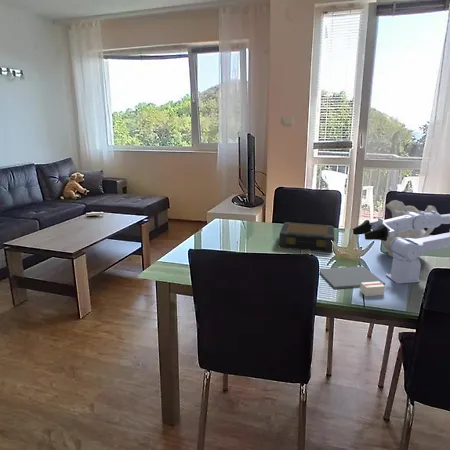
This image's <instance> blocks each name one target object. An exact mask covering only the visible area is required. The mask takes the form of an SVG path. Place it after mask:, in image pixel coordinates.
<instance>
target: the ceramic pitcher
mask: <svg viewBox="0 0 450 450" xmlns="http://www.w3.org/2000/svg"><path fill="white" fill-rule="evenodd" d="M385 206H386V208H387V209H389V211H390V212H391V216H392V217H391V218H395V217H399V216H403V215H404V214H405V213H406V212H408V211H409V212H415V213H420V212H424V213H427V212H430V211H436V212H437V213H438V210H437V208H436V206H435V205H426V208H425V210H424V211H423V210H419V209H418V208H417V207H415V206H414V205H405V204H404V202H403V201H399V200H397V199H395V200H390V202H388V203H387V204H386V205H385ZM435 228H436V227H432V228H426V230H425V228H424V229H423V230H421V231H419V230H415V229H411V230H407V231H403V232H399V233H395V236H393V237H389V236H388V237H387V241H383V240H380V242H381V244H382V246H383V247H384V249H386V250H387V254H388V256H389V257H390V258H393V251H392V250H391V248H390V245H391V242H392V241H393V240H394V239H395V238H397V237H401V238H413V239H418V238H423V237H428V236H430V234H431V233H432V232H433V231H434V230H435Z"/></svg>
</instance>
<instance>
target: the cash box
mask: <svg viewBox="0 0 450 450" xmlns="http://www.w3.org/2000/svg"><path fill="white" fill-rule="evenodd" d="M278 239H279V242H278V247H279V246H280V247H279V248H281V247H282V249H289V248H291V249H290V250H301V251H314V252H324V253H332V252H334V250H333V251H332V242H331V240H332V241H333V242H334V243H335V227H334V226H333V225H329V224H318V223H317V224H316V223H302V222H301V223H300V222H289V221H287V222H286V221H285V222H283V224H282V227H281V229H280V232H279V238H278Z"/></svg>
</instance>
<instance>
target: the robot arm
mask: <svg viewBox="0 0 450 450" xmlns="http://www.w3.org/2000/svg"><path fill="white" fill-rule="evenodd" d="M442 224H443V225H450V213H447V214H446V213H445V214H440V213H439V212H438V211H437V212H436V211H430V212H427V213H424V212H420V213H415V212H409V211H408V212H406V213H405V214H404V215H403V216H399V217H395V218H392V217H391V218H388V219H383V218H382V217H378V218H377V220H376V221H370V220H369V219H366V220H364V221H363V222H362V223H360V225H358V226H355V227H354V228H352V234H353V235H356V236H357V235H364V240H366V241H367V240H369V241H371V240H373V241H376V240H377V241H381V240H383V241H387V237H388V236H389V237H393V236H395V233H399V232H403V231H407V230H411V229H415V230H419V231H421V230H423V229H424V230H425V229H428V228H432V227H435V228H438V227H440V226H441V225H442ZM449 247H450V229H449V232H445V233H439V234H435V235H429V236H428V237H423V238H418V239H413V238H401V237H397V238H395V239H394V240H393V241H392V242H391V245H390V248H391V250H392V251H393V257H392V263H391V270H390V273H386V274H385V276H386V277H388V279H390V280H391V281H393V282H394V283H396V284H409V283H420V280H419V278H420V272H421V266H422V265H421V261H420V259H419V258H420V257H423V255H424V253H425V252H431V251H434V250H439V249H445V248H449Z"/></svg>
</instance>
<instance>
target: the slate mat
mask: <svg viewBox="0 0 450 450" xmlns="http://www.w3.org/2000/svg"><path fill="white" fill-rule="evenodd" d="M319 269H320V273H319V274H320V276H321V277H322V278H323V279H325V281H326V282H327V283H328V284H329V285H330V286H331V287H332V288H333V289H334V290H336V289H351V288H360V287H361V283H362V282H376V281H379V282H381V283H382V284H383V285H384V286H386V285H385V284H386V283H385V282H384V281H383V280H382V279H380V277H378V276H376V275H375V274H374V273H373V272H372V271H370V270H369V269H368V268H366V267H365V266H364V265H363V266H362V265H360V266H348V267H347V266H346V267H332V268H331V267H330V268H319Z"/></svg>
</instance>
